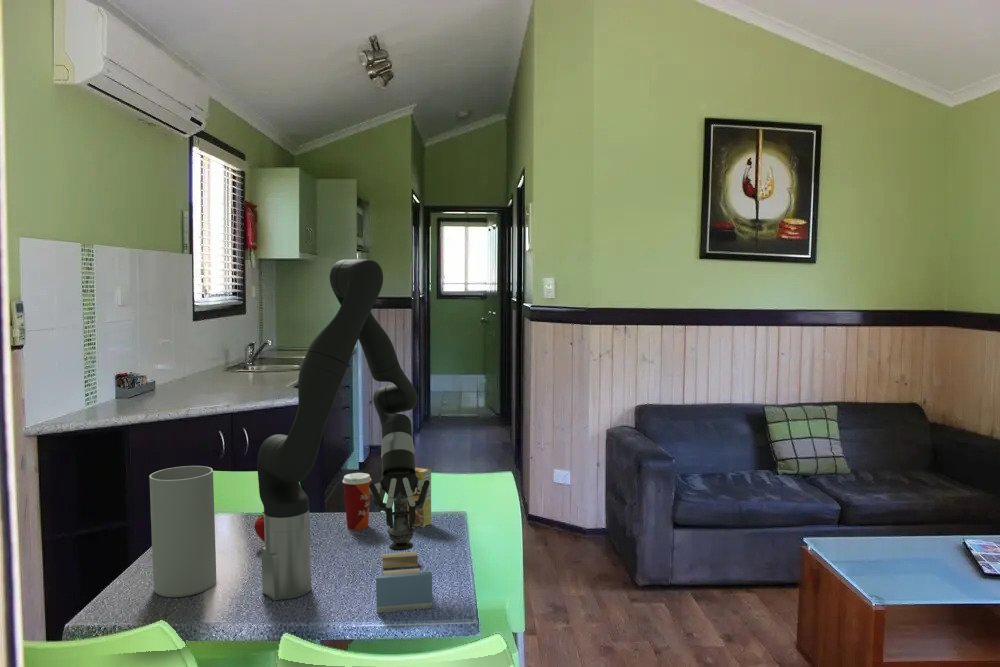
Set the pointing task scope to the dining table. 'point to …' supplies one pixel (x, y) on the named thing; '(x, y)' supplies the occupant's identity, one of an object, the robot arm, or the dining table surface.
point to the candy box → (425, 513)
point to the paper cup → (357, 500)
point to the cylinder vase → (183, 530)
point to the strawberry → (260, 527)
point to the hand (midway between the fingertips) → (401, 525)
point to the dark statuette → (401, 526)
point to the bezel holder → (404, 592)
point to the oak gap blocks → (400, 562)
